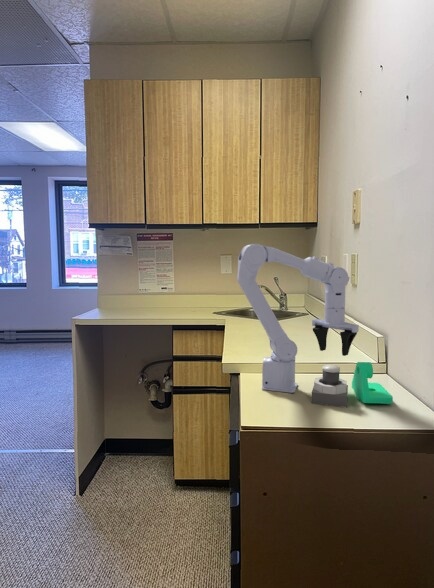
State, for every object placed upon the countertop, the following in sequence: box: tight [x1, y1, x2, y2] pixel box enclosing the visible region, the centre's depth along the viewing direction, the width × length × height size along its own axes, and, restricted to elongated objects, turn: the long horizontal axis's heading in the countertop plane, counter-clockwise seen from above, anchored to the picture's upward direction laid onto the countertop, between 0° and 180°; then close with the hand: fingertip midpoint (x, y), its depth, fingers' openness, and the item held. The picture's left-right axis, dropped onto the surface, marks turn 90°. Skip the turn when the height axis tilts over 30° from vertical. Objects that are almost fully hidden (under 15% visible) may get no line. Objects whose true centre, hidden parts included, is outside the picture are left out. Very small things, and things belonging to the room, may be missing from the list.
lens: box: [321, 364, 341, 386], centre depth 108 cm, size 5×5×6 cm
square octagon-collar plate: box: [311, 376, 349, 408], centre depth 108 cm, size 9×9×5 cm
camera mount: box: [351, 361, 394, 404], centre depth 108 cm, size 12×8×10 cm, turn 176°
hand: (333, 352), depth 117 cm, fingers open, 7 cm apart
